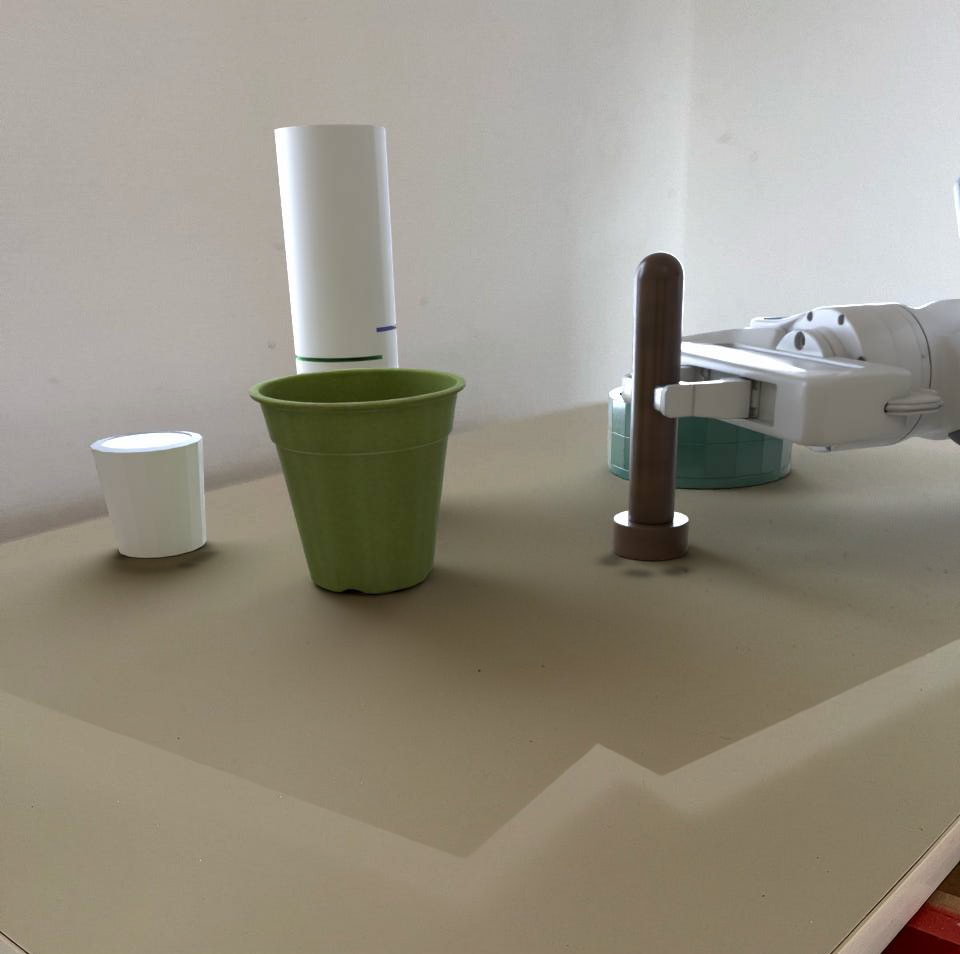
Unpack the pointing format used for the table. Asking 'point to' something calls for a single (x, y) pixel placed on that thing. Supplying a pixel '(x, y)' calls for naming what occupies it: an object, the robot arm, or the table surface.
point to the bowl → (704, 451)
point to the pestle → (653, 416)
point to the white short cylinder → (153, 491)
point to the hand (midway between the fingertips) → (641, 395)
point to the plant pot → (363, 469)
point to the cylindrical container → (338, 245)
